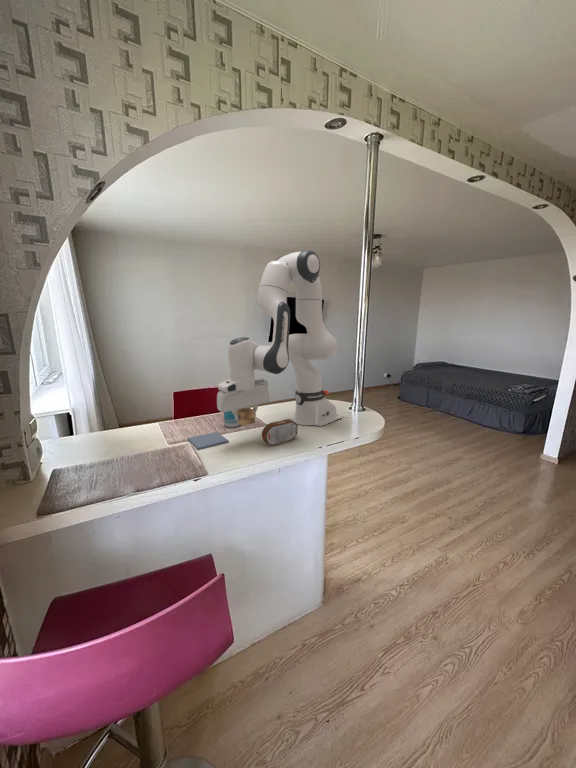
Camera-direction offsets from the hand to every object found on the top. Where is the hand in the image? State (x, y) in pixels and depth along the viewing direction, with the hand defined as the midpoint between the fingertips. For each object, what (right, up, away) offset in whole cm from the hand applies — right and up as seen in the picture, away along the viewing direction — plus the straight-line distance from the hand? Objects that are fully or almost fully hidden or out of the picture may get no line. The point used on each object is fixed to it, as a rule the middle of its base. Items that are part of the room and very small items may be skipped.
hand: (245, 418), depth 124 cm
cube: (0, -2, 0) cm, 2 cm away
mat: (-15, -9, +4) cm, 18 cm away
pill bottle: (-8, -5, +22) cm, 24 cm away
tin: (+13, -10, +1) cm, 16 cm away
